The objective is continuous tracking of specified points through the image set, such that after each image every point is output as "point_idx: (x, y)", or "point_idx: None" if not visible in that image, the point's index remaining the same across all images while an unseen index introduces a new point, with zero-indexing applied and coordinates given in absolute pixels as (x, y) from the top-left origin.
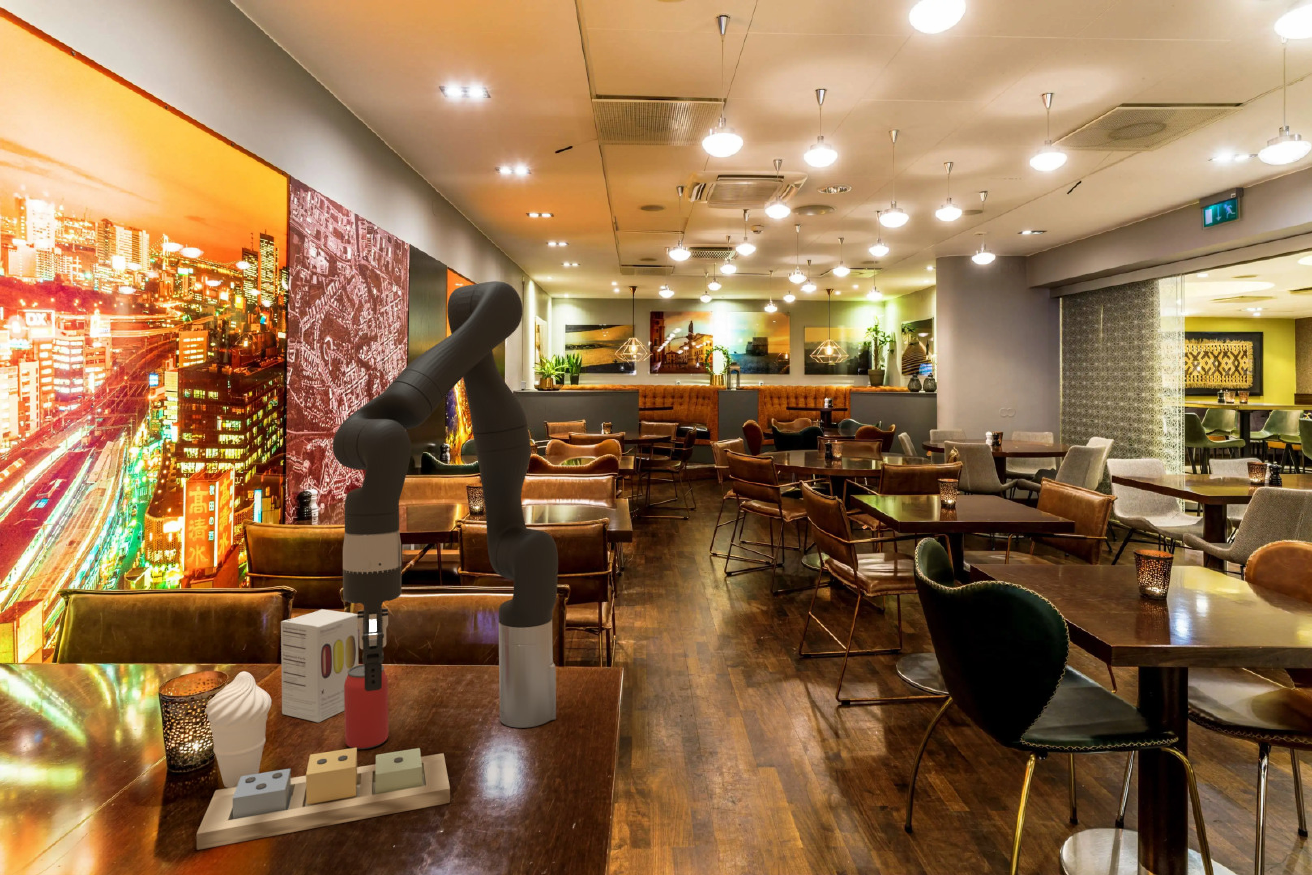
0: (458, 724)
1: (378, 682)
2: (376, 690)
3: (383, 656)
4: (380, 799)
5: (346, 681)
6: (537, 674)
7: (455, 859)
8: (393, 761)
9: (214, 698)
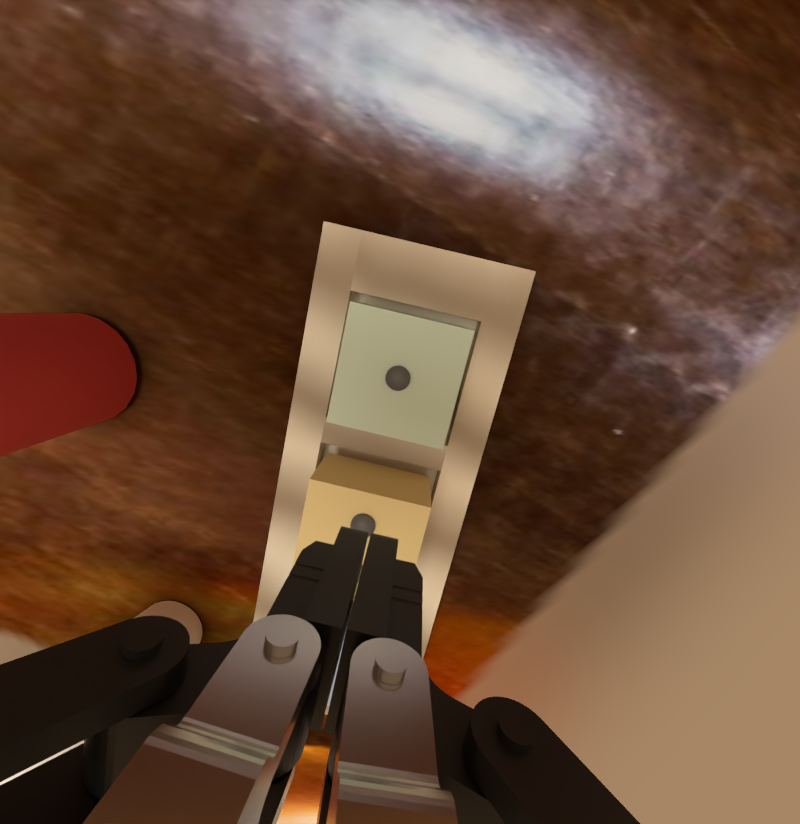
0: (81, 96)
1: (421, 582)
2: None
3: (534, 743)
4: (480, 434)
5: None
6: None
7: (758, 339)
8: (394, 390)
9: None
